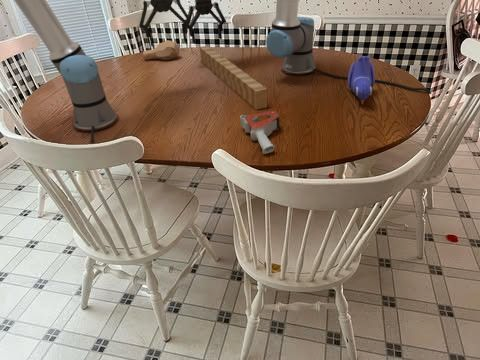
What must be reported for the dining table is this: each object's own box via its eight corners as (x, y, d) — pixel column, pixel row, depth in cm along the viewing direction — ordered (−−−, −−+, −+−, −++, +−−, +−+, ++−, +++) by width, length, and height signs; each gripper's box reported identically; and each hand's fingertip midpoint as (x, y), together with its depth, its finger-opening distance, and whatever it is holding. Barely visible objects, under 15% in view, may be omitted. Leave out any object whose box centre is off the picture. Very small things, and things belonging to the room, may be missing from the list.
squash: (180, 60, 189) (175, 44, 182) (144, 67, 191) (138, 52, 184) (182, 51, 196) (177, 35, 190) (147, 58, 198) (141, 42, 192)
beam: (267, 107, 136) (267, 88, 132) (256, 109, 135) (255, 91, 131) (209, 60, 187) (208, 45, 182) (201, 61, 185) (199, 47, 181)
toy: (345, 95, 151) (349, 109, 128) (348, 53, 144) (352, 60, 122) (370, 95, 149) (378, 108, 126) (374, 52, 142) (383, 59, 120)
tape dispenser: (269, 161, 108) (297, 129, 121) (269, 147, 105) (298, 115, 117) (221, 145, 116) (252, 116, 128) (220, 131, 112) (252, 103, 125)
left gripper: (190, -21, 138) (197, 36, 150) (124, -14, 133) (137, 45, 146) (193, -18, 132) (200, 41, 144) (124, -11, 127) (138, 50, 140)
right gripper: (224, -12, 168) (228, 35, 180) (173, -6, 160) (180, 43, 173) (230, -10, 162) (233, 38, 175) (178, -4, 155) (185, 46, 167)
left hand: (168, 43), depth 145 cm, fingers open, 13 cm apart
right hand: (207, 40), depth 174 cm, fingers open, 13 cm apart
